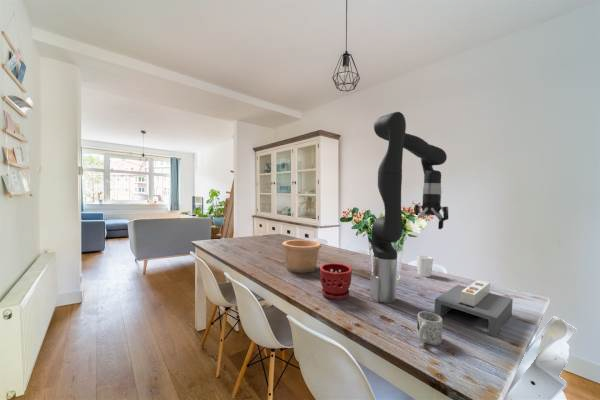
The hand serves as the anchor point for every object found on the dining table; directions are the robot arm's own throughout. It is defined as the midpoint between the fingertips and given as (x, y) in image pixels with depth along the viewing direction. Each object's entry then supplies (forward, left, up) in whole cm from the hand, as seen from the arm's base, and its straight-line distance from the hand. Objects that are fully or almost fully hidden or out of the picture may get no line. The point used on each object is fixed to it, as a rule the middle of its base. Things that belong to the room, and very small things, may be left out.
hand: (430, 228), depth 120 cm
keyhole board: (-3, -27, -28) cm, 39 cm away
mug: (-32, -38, -28) cm, 57 cm away
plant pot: (-47, -2, -28) cm, 55 cm away
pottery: (-52, +38, -28) cm, 70 cm away
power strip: (-1, -26, -25) cm, 36 cm away
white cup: (+12, +17, -28) cm, 35 cm away
